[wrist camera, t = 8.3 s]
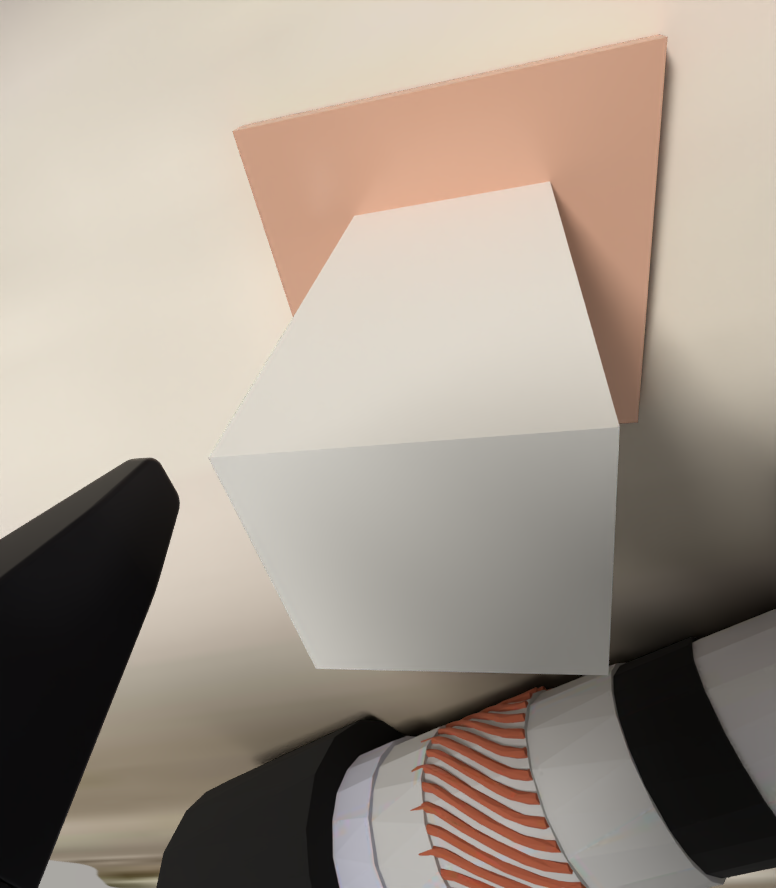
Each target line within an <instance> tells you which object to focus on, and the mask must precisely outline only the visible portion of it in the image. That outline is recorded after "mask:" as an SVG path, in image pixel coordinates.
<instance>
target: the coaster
mask: <svg viewBox="0 0 776 888" xmlns="http://www.w3.org/2000/svg"><path fill="white" fill-rule="evenodd" d="M666 49H667V37H666V36H663V35H660V34H659V35H654V36H650V37H645V38H641V39H636V40H632V41H627V42H622V43H618V44H613V45H609V46H604V47H600V48H595V49H590V50H586V51H581V52H577V53H572V54H568V55H563V56H558V57H554V58H549V59H545V60H540V61H536V62H531V63H526V64H522V65H517V66H513V67H508V68H504V69H499V70H494V71H490V72H485V73H481V74H476V75H472V76H467V77H462V78H458V79H453V80H449V81H444V82H440V83H435V84H430V85H426V86H421V87H417V88H412V89H408V90H403V91H398V92H394V93H389V94H385V95H380V96H376V97H371V98H367V99H362V100H357V101H353V102H348V103H344V104H339V105H335V106H330V107H325V108H321V109H316V110H312V111H307V112H303V113H298V114H293V115H289V116H284V117H280V118H275V119H271V120H266V121H261V122H257V123H252V124H248V125H243V126H241V127H239V128H238V129H236V130H234V131H233V134H234V137H235V140H236V143H237V147H238V150H239V153H240V156H241V159H242V162H243V165H244V168H245V171H246V174H247V177H248V180H249V183H250V186H251V190H252V193H253V196H254V199H255V202H256V205H257V208H258V211H259V214H260V217H261V220H262V223H263V226H264V229H265V233H266V236H267V239H268V242H269V245H270V248H271V251H272V254H273V257H274V260H275V263H276V266H277V269H278V272H279V276H280V279H281V282H282V285H283V288H284V291H285V294H286V297H287V300H288V303H289V306H290V309H291V312H292V315H293V317H294V315H295V313H296V312H297V310H298V308H299V307H300V305H301V303H302V302H303V300H304V298H305V297H306V295H307V293H308V292H309V290H310V288H311V287H312V285H313V283H314V282H315V280H316V278H317V277H318V275H319V273H320V272H321V270H322V268H323V267H324V265H325V263H326V262H327V260H328V259H329V257H330V255H331V254H332V252H333V250H334V249H335V247H336V245H337V244H338V242H339V240H340V239H341V237H342V235H343V234H344V232H345V230H346V229H347V227H348V225H349V224H350V222H351V220H352V219H353V217H354V216H356V215H362V214H367V213H373V212H379V211H384V210H390V209H396V208H401V207H407V206H413V205H418V204H424V203H430V202H436V201H441V200H447V199H453V198H458V197H464V196H470V195H475V194H481V193H487V192H492V191H498V190H504V189H509V188H515V187H521V186H526V185H532V184H538V183H543V182H549V181H550V183H551V187H552V190H553V194H554V197H555V201H556V204H557V208H558V211H559V215H560V218H561V222H562V225H563V229H564V233H565V236H566V240H567V243H568V247H569V250H570V254H571V257H572V261H573V264H574V268H575V271H576V275H577V278H578V282H579V285H580V289H581V292H582V296H583V299H584V303H585V306H586V310H587V314H588V317H589V321H590V324H591V328H592V331H593V335H594V338H595V342H596V345H597V349H598V352H599V356H600V359H601V363H602V366H603V370H604V373H605V377H606V380H607V384H608V387H609V391H610V395H611V398H612V402H613V405H614V409H615V412H616V416H617V419H618V423H619V424H622V423H636V422H638V412H639V399H640V386H641V373H642V360H643V347H644V334H645V321H646V308H647V295H648V282H649V269H650V256H651V244H652V231H653V218H654V205H655V192H656V179H657V166H658V153H659V140H660V127H661V114H662V101H663V88H664V75H665V62H666Z"/></svg>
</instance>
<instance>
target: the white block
mask: <svg viewBox="0 0 776 888" xmlns="http://www.w3.org/2000/svg"><path fill="white" fill-rule="evenodd" d="M619 432H620V426H619V423H618V419H617V416H616V412H615V409H614V405H613V402H612V398H611V395H610V391H609V387H608V384H607V380H606V377H605V373H604V370H603V366H602V363H601V359H600V356H599V352H598V349H597V345H596V342H595V338H594V335H593V331H592V328H591V324H590V321H589V317H588V314H587V310H586V306H585V303H584V299H583V296H582V292H581V289H580V285H579V282H578V278H577V275H576V271H575V268H574V264H573V261H572V257H571V254H570V250H569V247H568V243H567V240H566V236H565V233H564V229H563V225H562V222H561V218H560V215H559V211H558V208H557V204H556V201H555V197H554V194H553V190H552V187H551V183H550V181H549V182H543V183H538V184H532V185H526V186H521V187H515V188H509V189H504V190H498V191H492V192H487V193H481V194H475V195H470V196H464V197H458V198H453V199H447V200H441V201H436V202H430V203H424V204H418V205H413V206H407V207H401V208H396V209H390V210H384V211H379V212H373V213H367V214H362V215H356V216H354V217H353V219H352V220H351V222H350V224H349V225H348V227H347V229H346V230H345V232H344V234H343V235H342V237H341V239H340V240H339V242H338V244H337V245H336V247H335V249H334V250H333V252H332V254H331V255H330V257H329V259H328V260H327V262H326V263H325V265H324V267H323V268H322V270H321V272H320V273H319V275H318V277H317V278H316V280H315V282H314V283H313V285H312V287H311V288H310V290H309V292H308V293H307V295H306V297H305V298H304V300H303V302H302V303H301V305H300V307H299V308H298V310H297V312H296V313H295V315H294V317H293V318H292V320H291V322H290V323H289V325H288V327H287V328H286V330H285V332H284V333H283V335H282V336H281V338H280V340H279V341H278V343H277V345H276V346H275V348H274V350H273V351H272V353H271V355H270V356H269V358H268V360H267V361H266V363H265V365H264V366H263V368H262V370H261V371H260V373H259V375H258V376H257V378H256V380H255V381H254V383H253V385H252V386H251V388H250V390H249V391H248V393H247V395H246V396H245V398H244V400H243V401H242V403H241V405H240V406H239V408H238V409H237V411H236V413H235V414H234V416H233V418H232V419H231V421H230V423H229V424H228V426H227V428H226V429H225V431H224V433H223V434H222V436H221V438H220V439H219V441H218V443H217V444H216V446H215V448H214V449H213V451H212V453H211V454H210V456H209V460H210V462H211V464H212V466H213V468H214V470H215V472H216V474H217V476H218V478H219V480H220V482H221V483H222V485H223V487H224V489H225V491H226V493H227V495H228V497H229V499H230V501H231V503H232V505H233V507H234V509H235V511H236V513H237V515H238V517H239V519H240V521H241V523H242V525H243V527H244V529H245V530H246V532H247V534H248V536H249V538H250V540H251V542H252V544H253V546H254V548H255V550H256V552H257V554H258V556H259V558H260V560H261V562H262V564H263V566H264V568H265V570H266V572H267V574H268V576H269V577H270V579H271V581H272V583H273V585H274V587H275V589H276V591H277V593H278V595H279V597H280V599H281V601H282V603H283V605H284V607H285V609H286V611H287V613H288V615H289V617H290V619H291V621H292V623H293V624H294V626H295V628H296V630H297V632H298V634H299V636H300V638H301V640H302V642H303V644H304V646H305V648H306V650H307V652H308V654H309V656H310V658H311V660H312V662H313V664H314V666H315V668H316V669H351V670H394V671H438V672H481V673H524V674H567V675H608V672H609V650H610V628H611V607H612V585H613V563H614V541H615V519H616V498H617V476H618V454H619Z"/></svg>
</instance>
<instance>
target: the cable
mask: <svg viewBox="0 0 776 888" xmlns="http://www.w3.org/2000/svg"><path fill="white" fill-rule="evenodd" d="M775 867H776V609H774V610H771V611H769V612H766V613H764V614H761V615H759V616H756V617H754V618H751V619H749V620H746V621H744V622H741V623H739V624H736V625H734V626H731V627H729V628H726V629H724V630H721V631H719V632H716V633H714V634H711V635H709V636H706V637H704V638H701V639H697V638H695V637H690V638H688V639H685V640H683V641H680V642H678V643H675V644H673V645H670V646H668V647H665V648H663V649H660V650H658V651H655V652H653V653H650V654H648V655H645V656H643V657H640V658H638V659H635V660H633V661H630V662H628V663H616V664H613V665H611V666H609V672H608V675H586V676H583V677H581V678H578V679H576V680H573V681H571V682H568V683H566V684H563V685H561V686H558V687H556V688H553V689H552V688H551V689H549V690H546V688H545V687H544V686H542V687H540V688H537V687H535V688H533V689H531V690H529V691H526V692H524V693H522V694H520V695H518V696H516V697H513V698H510V699H507V700H504V701H502V702H501V703H499V704H497V705H495V706H490V707H488V708H486V709H484V710H482V711H480V712H479V713H474V714H472V715H469V716H466V717H464V718H463V719H461V720H459V721H454V722H451V723H449V724H446V725H443V726H441V727H438V728H436V729H433V730H431V731H429V732H426V733H424V734H422V735H419V736H417V737H412V736H405V735H403V734H402V733H400V732H398V731H397V730H395V729H394V728H392V727H391V726H389V725H388V724H386V723H385V722H383V721H370V720H359V721H357V722H355V723H353V724H351V725H348V726H346V727H344V728H342V729H340V730H338V731H335V732H333V733H331V734H329V735H327V736H324V737H322V738H320V739H318V740H316V741H314V742H311V743H309V744H307V745H305V746H303V747H301V748H298V749H296V750H294V751H292V752H290V753H288V754H285V755H283V756H281V757H279V758H277V759H274V760H272V761H270V762H268V763H266V764H264V765H261V766H259V767H257V768H255V769H253V770H251V771H248V772H246V773H244V774H242V775H240V776H237V777H235V778H233V779H231V780H229V781H227V782H225V783H223V784H221V785H219V786H217V787H215V788H213V789H211V790H209V791H207V792H206V793H205V794H204V795H203V796H202V797H200V798H199V799H198V800H197V801H196V802H195V803H194V804H193V805H192V806H191V807H190V808H189V809H188V810H187V811H186V812H185V814H184V816H183V818H182V820H181V822H180V824H179V825H178V827H177V829H176V831H175V833H174V835H173V836H172V838H171V840H170V842H169V844H168V846H167V848H166V849H165V851H164V854H163V858H162V863H161V868H160V873H159V878H158V883H157V887H156V888H708V887H713V886H718V885H723V884H724V882H725V879H726V877H728V878H729V877H731V876H736V875H741V874H746V873H751V872H756V871H760V870H765V869H770V868H775Z"/></svg>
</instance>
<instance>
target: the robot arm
mask: <svg viewBox="0 0 776 888" xmlns="http://www.w3.org/2000/svg"><path fill="white" fill-rule="evenodd" d="M179 505H180V502H179V496H178V493H177V491H176V490H175V488H174V486H173V484H172V483H171V481H170V479H169V477H168V476H167V474H166V472H165V470H164V469H163V467H162V465H161V464H160V462H158V461H157V460H156V459H154V458H138V459H130V460H128V461H126V462H124V463H123V464H121V465H119V466H118V467H116V468H115V469H113V470H111V471H110V472H108V473H106V474H105V475H103V476H102V477H100V478H98V479H97V480H95V481H94V482H92V483H90V484H89V485H87V486H86V487H84V488H82V489H81V490H79V491H77V492H76V493H74V494H73V495H71V496H69V497H68V498H66V499H65V500H63V501H61V502H60V503H58V504H57V505H55V506H53V507H52V508H50V509H49V510H47V511H45V512H44V513H42V514H40V515H39V516H37V517H36V518H34V519H32V520H31V521H29V522H28V523H26V524H24V525H23V526H21V527H20V528H18V529H16V530H15V531H13V532H11V533H10V534H8V535H7V536H5V537H3V538H2V539H0V888H38V886H39V884H40V881H41V878H42V876H43V874H44V871H45V869H46V866H47V864H48V861H49V859H50V856H51V854H52V851H53V849H54V846H55V844H56V841H57V839H58V836H59V834H60V831H61V829H62V826H63V823H64V821H65V818H66V816H67V813H68V811H69V808H70V806H71V803H72V801H73V798H74V796H75V793H76V791H77V788H78V786H79V783H80V781H81V778H82V776H83V773H84V771H85V768H86V766H87V763H88V761H89V758H90V756H91V753H92V751H93V748H94V746H95V743H96V740H97V738H98V735H99V733H100V730H101V728H102V725H103V723H104V720H105V718H106V715H107V713H108V710H109V708H110V705H111V703H112V700H113V698H114V695H115V693H116V690H117V688H118V685H119V683H120V680H121V678H122V675H123V673H124V670H125V668H126V665H127V663H128V660H129V658H130V655H131V652H132V650H133V647H134V645H135V642H136V640H137V637H138V635H139V632H140V630H141V627H142V625H143V622H144V620H145V617H146V615H147V612H148V610H149V607H150V605H151V602H152V599H153V597H154V594H155V591H156V588H157V585H158V582H159V578H160V575H161V571H162V568H163V564H164V561H165V557H166V554H167V550H168V547H169V543H170V540H171V536H172V533H173V529H174V526H175V522H176V519H177V515H178V512H179Z"/></svg>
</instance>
